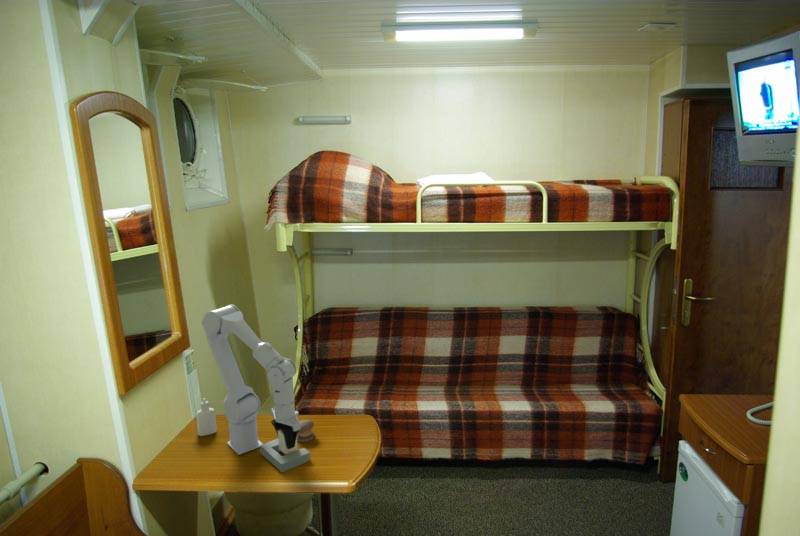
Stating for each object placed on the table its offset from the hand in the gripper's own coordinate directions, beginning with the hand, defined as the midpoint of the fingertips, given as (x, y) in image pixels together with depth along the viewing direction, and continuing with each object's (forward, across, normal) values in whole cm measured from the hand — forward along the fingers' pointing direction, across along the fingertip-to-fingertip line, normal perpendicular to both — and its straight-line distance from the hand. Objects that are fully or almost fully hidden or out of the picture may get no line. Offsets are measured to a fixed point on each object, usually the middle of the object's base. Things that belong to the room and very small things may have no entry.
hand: (287, 444), depth 144 cm
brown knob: (+3, +6, -9) cm, 11 cm away
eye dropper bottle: (+4, +31, +13) cm, 34 cm away
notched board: (+3, 0, +1) cm, 4 cm away
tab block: (+2, 0, 0) cm, 2 cm away
